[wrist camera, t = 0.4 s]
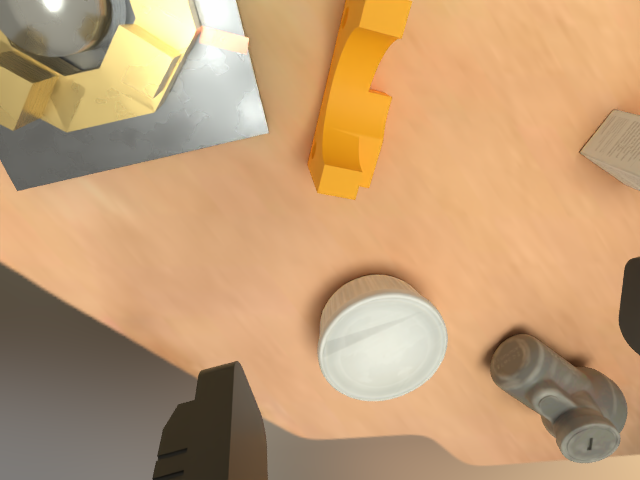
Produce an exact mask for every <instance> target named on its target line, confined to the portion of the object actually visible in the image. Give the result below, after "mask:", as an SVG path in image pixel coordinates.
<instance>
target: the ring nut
mask: <svg viewBox="0 0 640 480" xmlns="http://www.w3.org/2000/svg"><path fill="white" fill-rule="evenodd" d="M130 3H131V6H132V8H133V11H134V14H135V17H136V19H135V21H134V24H122V25H119V26H118V28H117V31H116V33H115V35H114V37H113V39H112V42H111V44H110V46H109V48H108V50H107V53H106V55H105V57H104V59H103V62H102V64H101V66H100V67H96V68H92V69H87V70H83V71H82V70H80V69H78V68H77V67H75V66H73V65H71V64H70V63H68V62H66V61H64V60H63V59H61V58H59V57H46V56H40V55H36V54H34V53H31V52H29V51H27V50H25V49H23V48H21V47H19V46H18V45H16V44H15V43H14V42H12V41H11V40H10V39H9V38H8V37H7V36H6V35H5V34H4V33H3V32H2V31H1V30H0V124H1V125H2V126H4V127H6V128H8V129H10V130H12V131H14V130H17V129H19V128H21V127H23V126H25V125H27V124H29V123H31V122H33V121H35V120H37V119H42V120H44V121H46V122H47V123H49V124H51V125H53V126H55V127H57V128H59V129H61V130H63V131H65V132H71V131H75V130H80V129H84V128H88V127H93V126H97V125H102V124H106V123H110V122H115V121H119V120H124V119H128V118H132V117H137V116H141V115H145V114H150V113H154V112H156V111H157V110H158V109H159V108H160V107H161V106H162V105H163V104H164V102H165V100H166V98H167V96H168V94H169V92H170V90H171V88H172V86H173V84H174V82H175V80H176V78H177V76H178V74H179V72H180V70H181V68H182V67H183V65H184V63H185V61H186V59H187V57H188V55H189V53H190V51H191V49H192V47H193V45H194V43H195V41H196V39H197V37H198V35H199V33H200V31H201V26H200V22H199V19H198V15H197V12H196V8H195V5H194V1H193V0H130Z"/></svg>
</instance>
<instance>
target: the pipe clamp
mask: <svg viewBox="0 0 640 480" xmlns="http://www.w3.org/2000/svg"><path fill="white" fill-rule="evenodd" d="M411 4H412V1H409V0H346V1H345V6H344V10H343V14H342V18H341V23H340V27H339V31H338V36H337V40H336V44H335V48H334V53H333V57H332V61H331V66H330V70H329V74H328V78H327V83H326V87H325V91H324V96H323V100H322V104H321V108H320V113H319V117H318V121H317V126H316V130H315V134H314V138H313V143H312V147H311V151H310V156H309V160H308V164H307V165H308V168H309V170H310V173H311V176H312V179H313V182H314V184H315V187H316V190H317V193H320V194H326V195H331V196H337V197H342V198H348V199H353V200H355V199H356V195H357V192H358V188H359V186H361V187H366V188H369V186H370V183H371V180H372V176H373V173H374V170H375V166H376V163H377V160H378V156H379V153H380V150H381V146H382V143H383V136H384V129H385V123H386V118H387V114H388V110H389V106H390V103H391V100H392V97H391V96H389V95H387V94H386V93H384V92H380V91H376V90H371V89H369V88H370V85H371V82H372V80H373V77H374V74H375V72H376V69H377V67H378V65H379V63H380V61H381V59H382V57H383V55H384V54H385V52H386V50H387V49H388V48H389V46H390V45H391V44H392V43H393V42H394V41H395V40H397V39H402V35H403V32H404V28H405V25H406V22H407V18H408V15H409V11H410V8H411Z"/></svg>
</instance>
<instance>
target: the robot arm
mask: <svg viewBox="0 0 640 480" xmlns="http://www.w3.org/2000/svg"><path fill="white" fill-rule="evenodd" d="M619 326H620V329H621V332H622V335H623V337H624V338H625V340H626V342H627V343H628V344H629V346H630V347H631V348H632V349H633V350H634V351H635V352H636V353H638V354H639V355H640V257H636V258H633V259H630V260H629V261H628V262H627V264H626V266H625V270H624V278H623V286H622V295H621V303H620V311H619ZM157 456H158V461H156V465H155V469H154V474H153V480H268V474H267V473H268V472H267V443H266V434H265V428H264V423H263V419H262V416H261V413H260V410H259V408H258V405H257V403H256V400H255V398H254V395H253V393H252V391H251V388H250V386H249V383H248V381H247V378H246V376H245V373H244V371H243V368H242V366H241V364H240V363H239V362H238V361H235V362H232V363H228V364H224V365H220V366H216V367H213V368H209V369H205V370H202V371H200V373H199V376H198V382H197V389H196V395H195V400H193V401H190V402H186V403H182V404H179V405H178V406H177V408H176V409H175V411H174V413H173V414H172V416H171V417H170V419H169V421H168V422H167V424H166V425H165V427H164V429H163V432H162V437H161V442H160V446H159V451H158V455H157Z"/></svg>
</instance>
